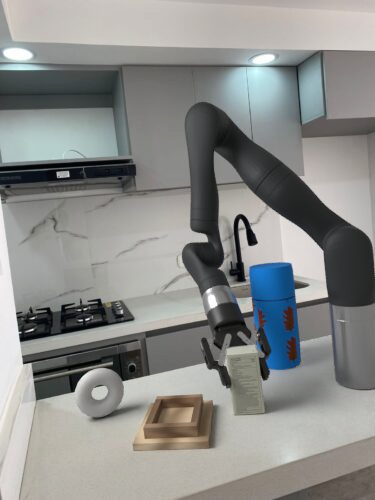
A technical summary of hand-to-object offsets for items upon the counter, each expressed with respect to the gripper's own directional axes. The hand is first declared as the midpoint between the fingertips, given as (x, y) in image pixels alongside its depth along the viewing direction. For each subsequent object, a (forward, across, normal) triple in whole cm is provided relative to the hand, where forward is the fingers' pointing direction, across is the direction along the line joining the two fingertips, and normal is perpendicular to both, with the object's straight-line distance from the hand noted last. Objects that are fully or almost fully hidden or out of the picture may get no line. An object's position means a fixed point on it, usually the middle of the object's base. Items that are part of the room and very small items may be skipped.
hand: (248, 382), depth 69 cm
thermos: (-10, +16, +19) cm, 27 cm away
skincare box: (+3, 0, +6) cm, 6 cm away
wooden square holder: (+3, -14, +5) cm, 16 cm away
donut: (-4, -28, +13) cm, 31 cm away
